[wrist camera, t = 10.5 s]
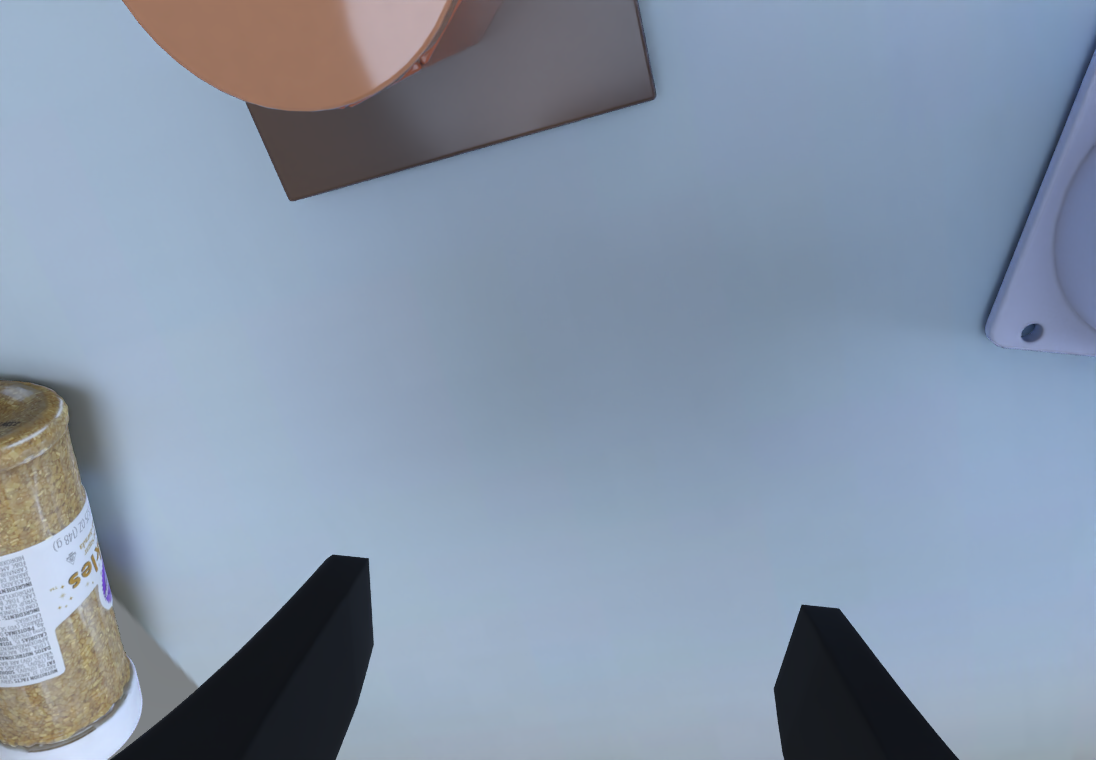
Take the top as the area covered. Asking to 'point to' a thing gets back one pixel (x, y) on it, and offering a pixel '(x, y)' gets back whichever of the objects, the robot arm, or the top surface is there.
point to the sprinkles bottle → (54, 597)
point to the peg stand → (472, 96)
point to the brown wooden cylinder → (312, 44)
